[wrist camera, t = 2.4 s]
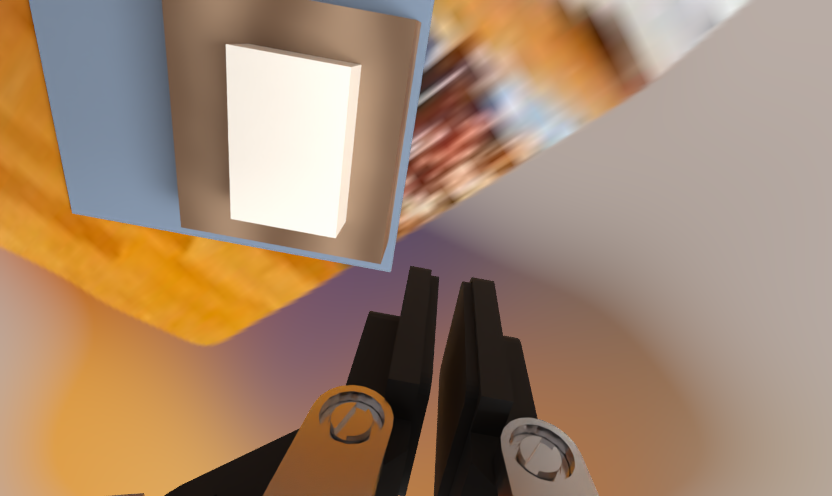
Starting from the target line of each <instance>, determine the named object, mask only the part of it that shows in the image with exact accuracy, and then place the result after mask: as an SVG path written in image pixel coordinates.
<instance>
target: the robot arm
mask: <svg viewBox="0 0 832 496" xmlns="http://www.w3.org/2000/svg"><path fill="white" fill-rule="evenodd" d="M431 271H432V270H429V269H424V268H419V267H414V266H410V270H409V275H408V280H407V285H406V290H405V295H404V300H403V305H402V311H401V316H395V315H390V314H384V313H378V312H373V311H370V312H369V314H368V317H367V320H366V324H365V327H364V330H363V333H362V336H361V339H360V342H359V346H358V349H357V352H356V355H355V358H354V361H353V364H352V368H351V371H350V374H349V377H348V380H347V383H346V386H339V387H336V388H333V389H330V390H328V391H327V392H325V393H324V394H322V395H321V396H320V397H319V398H318V399H317V400H316V402H315V403H314V404H313V406H312V407H311V409H310V411H309V413H308V415H307V417H306V418H305V420H304V422H303V424H302V425H301V427H300V429H298V430H295V431H293V432H292V433H289V434H287V435H285V436H283V437H281V438H279V439H277V440H275V441H272V442H270V443H268V444H266V445H264V446H262V447H260V448H258V449H256V450H254V451H252V452H249V453H247V454H245V455H243V456H241V457H239V458H237V459H235V460H233V461H231V462H229V463H226V464H224V465H222V466H220V467H218V468H216V469H214V470H212V471H210V472H208V473H206V474H203V475H201V476H199V477H197V478H195V479H193V480H191V481H189V482H187V483H185V484H183V485H181V486H179V487H177V488H176V489H174V490H173V491H171V492H169V493H168V494H166V495H165V496H398V495H400V496H405V495H406V491H407V487H408V483H409V479H410V475H411V470H412V466H413V462H414V458H415V454H416V450H417V446H418V441H419V437H420V433H421V429H422V424H423V420H424V416H425V412H426V408H427V404H428V400H429V395H430V389H431V383H432V374H433V359H434V344H435V329H436V315H437V299H438V285H439V277H436V276H431ZM437 420H438V421H437V439H436V463H435V483H434V496H599V495H598V493H597V490H596V488H595V486H594V483H593V481H592V479H591V476H590V474H589V471H588V469H587V467H586V465H585V462H584V460H583V457H582V455H581V453H580V452H579V450H578V448H577V446H576V445H575V443H574V442H573V441H572V440H571V439H570V438H569V437H568V436H567V435H566V434H565V433H564V432H562V431H561V430H560V429H558V428H557V427H556V426H554V425H552V424H550V423H547V422H545V421H543V420H539V419H537V414H536V410H535V405H534V401H533V397H532V392H531V387H530V382H529V378H528V373H527V369H526V364H525V360H524V355H523V350H522V346H521V342H520V340H519V339H518V338H514V337H508V336H503V333H502V327H501V321H500V314H499V309H498V302H497V296H496V290H495V284H494V281H489V280H484V279H478V278H473V277H472V278H471V280H470V283H469V282H462V284H461V287H460V291H459V295H458V299H457V303H456V307H455V311H454V315H453V319H452V324H451V328H450V332H449V336H448V340H447V344H446V348H445V352H444V356H443V360H442V364H441V369H440V377H439V397H438V418H437ZM115 496H145V495H144V493H140V494H128V495H115Z"/></svg>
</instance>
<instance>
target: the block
mask: <svg viewBox="0 0 832 496" xmlns="http://www.w3.org/2000/svg"><path fill="white" fill-rule="evenodd" d="M162 10H163V22H164V34H165V46H166V57H167V69H168V81H169V92H170V104H171V116H172V128H173V139H174V151H175V163H176V174H177V186H178V198H179V210H180V221H181V227H182V228H187V229H193V230H198V231H204V232H209V233H214V234H220V235H225V236H231V237H236V238H241V239H247V240H252V241H258V242H263V243H268V244H274V245H279V246H285V247H290V248H295V249H301V250H306V251H312V252H317V253H322V254H328V255H333V256H339V257H344V258H349V259H355V260H360V261H366V262H371V263H376V264H381V262H382V259H383V256H384V253H385V250H386V247H387V244H388V241H389V234H390V228H391V221H392V214H393V208H394V201H395V194H396V188H397V181H398V175H399V168H400V161H401V155H402V148H403V142H404V135H405V128H406V122H407V115H408V108H409V102H410V95H411V89H412V82H413V75H414V69H415V62H416V55H417V49H418V42H419V36H420V29H421V22H419V21H418V20H415V19H409V18H404V17H398V16H393V15H387V14H382V13H376V12H371V11H366V10H360V9H355V8H349V7H344V6H338V5H333V4H328V3H322V2H317V1H311V0H162ZM226 44H252V45H258V46H263V47H268V48H274V49H279V50H285V51H290V52H296V53H301V54H306V55H312V56H317V57H323V58H328V59H334V60H339V61H344V62H350V63H355V64H361V74H360V84H359V94H358V104H357V114H356V124H355V134H354V144H353V154H352V164H351V174H350V184H349V194H348V204H347V214H346V222H345V224H344V225H343V227H342V229H341V230H340V232H339V234H338V235H337V237H336V238H331V237H326V236H320V235H315V234H310V233H304V232H299V231H293V230H288V229H283V228H277V227H272V226H266V225H261V224H256V223H250V222H245V221H239V220H234V219H231V212H230V177H229V143H228V108H227V74H226Z"/></svg>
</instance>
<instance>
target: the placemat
mask: <svg viewBox="0 0 832 496" xmlns="http://www.w3.org/2000/svg"><path fill="white" fill-rule="evenodd" d="M311 1H317V2H322V3H328V4H333V5H338V6H344V7H349V8H355V9H360V10H366V11H371V12H376V13H382V14H387V15H393V16H398V17H404V18H409V19H415V20H418V21H419V22H421V29H420V36H419V42H418V49H417V55H416V62H415V69H414V75H413V82H412V89H411V95H410V102H409V108H408V115H407V122H406V128H405V135H404V142H403V148H402V155H401V161H400V168H399V175H398V181H397V188H396V194H395V201H394V208H393V214H392V221H391V228H390V234H389V241H388V244H387V247H386V250H385V253H384V256H383V259H382V262H381V264H376V263H371V262H366V261H360V260H355V259H349V258H344V257H339V256H333V255H328V254H322V253H317V252H312V251H306V250H301V249H295V248H290V247H285V246H279V245H274V244H268V243H263V242H258V241H252V240H247V239H241V238H236V237H231V236H225V235H220V234H214V233H209V232H204V231H198V230H193V229H187V228H182V227H181V221H180V210H179V198H178V186H177V174H176V163H175V151H174V139H173V128H172V116H171V104H170V92H169V81H168V69H167V57H166V46H165V34H164V22H163V10H162V0H29V4H30V9H31V14H32V18H33V23H34V28H35V33H36V38H37V43H38V48H39V53H40V58H41V62H42V67H43V72H44V77H45V82H46V87H47V92H48V97H49V102H50V106H51V111H52V116H53V121H54V126H55V131H56V136H57V141H58V145H59V150H60V155H61V160H62V165H63V170H64V175H65V180H66V185H67V189H68V194H69V199H70V204H71V209H72V213H74V214H79V215H85V216H90V217H95V218H101V219H106V220H112V221H117V222H122V223H128V224H133V225H139V226H144V227H149V228H155V229H160V230H165V231H171V232H176V233H182V234H187V235H192V236H198V237H203V238H209V239H214V240H219V241H225V242H230V243H236V244H241V245H246V246H252V247H257V248H263V249H268V250H273V251H279V252H284V253H290V254H295V255H300V256H306V257H311V258H317V259H322V260H327V261H333V262H338V263H344V264H349V265H354V266H360V267H365V268H371V269H376V270H382V271H387V272H391V268H392V262H393V255H394V250H395V243H396V237H397V231H398V225H399V218H400V212H401V206H402V199H403V193H404V187H405V181H406V174H407V168H408V162H409V156H410V149H411V143H412V137H413V130H414V124H415V118H416V112H417V105H418V99H419V93H420V87H421V80H422V74H423V68H424V62H425V55H426V49H427V43H428V36H429V30H430V24H431V18H432V11H433V5H434V0H311Z"/></svg>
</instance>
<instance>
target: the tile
mask: <svg viewBox="0 0 832 496" xmlns="http://www.w3.org/2000/svg"><path fill="white" fill-rule="evenodd" d="M226 74H227V108H228V143H229V177H230V212H231V219H234V220H239V221H245V222H250V223H256V224H261V225H266V226H272V227H277V228H283V229H288V230H293V231H299V232H304V233H310V234H315V235H320V236H326V237H331V238H336V237H337V235H338V234H339V232H340V230H341V229H342V227H343V225H344V224H345V222H346V214H347V204H348V194H349V184H350V174H351V164H352V154H353V144H354V134H355V124H356V114H357V104H358V94H359V84H360V74H361V64H355V63H350V62H344V61H339V60H334V59H328V58H323V57H317V56H312V55H306V54H301V53H296V52H290V51H285V50H279V49H274V48H268V47H263V46H258V45H252V44H226Z"/></svg>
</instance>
